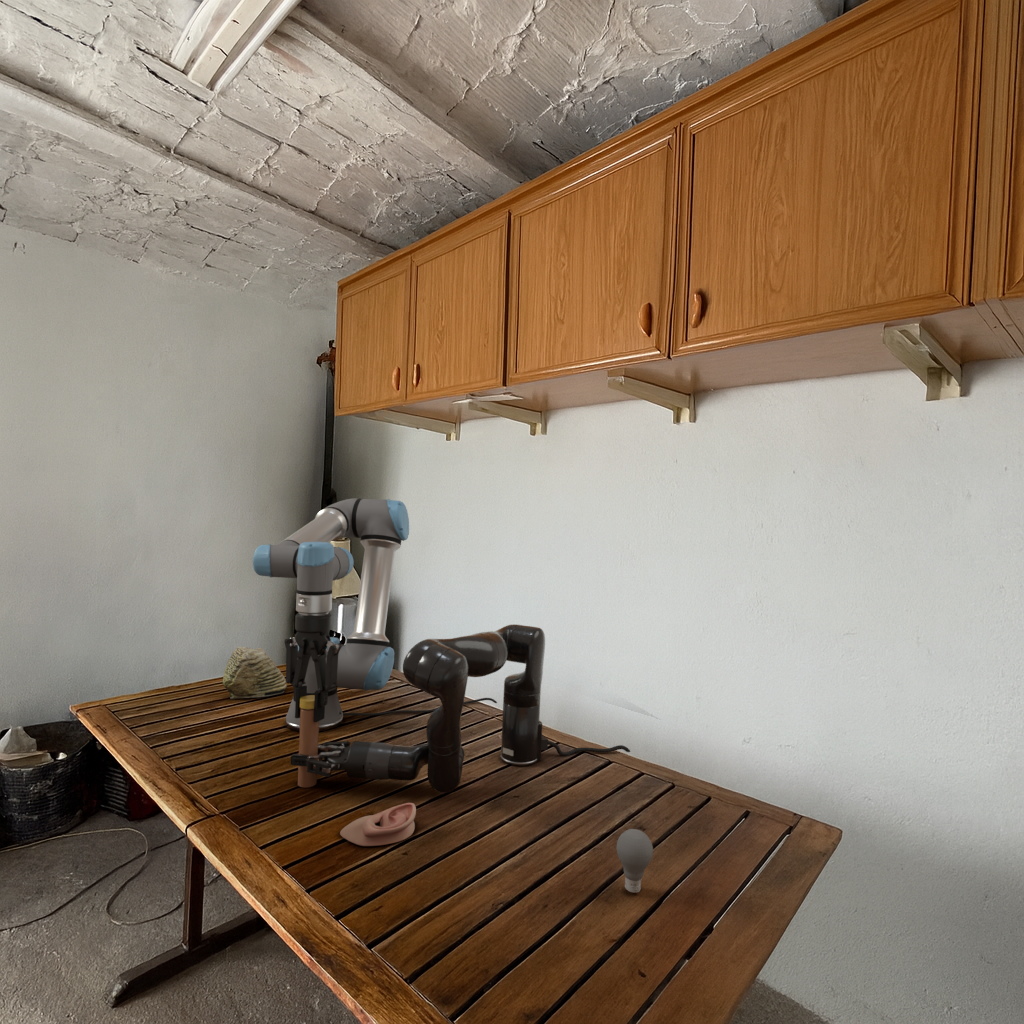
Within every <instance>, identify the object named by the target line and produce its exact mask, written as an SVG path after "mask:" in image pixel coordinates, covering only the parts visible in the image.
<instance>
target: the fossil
mask: <svg viewBox="0 0 1024 1024" xmlns="http://www.w3.org/2000/svg"><path fill="white" fill-rule="evenodd" d="M222 676H223V677H222V685H223V687H224V688H225V690H226V691H228V693H229V698H230V699H250V698H264V697H271V696H275V695H281V694H284V693H285V691H286V689H287V687H288V686H287V685H288V684H287V683H286V676H284V674H283V673H282V672H281V669H279V668H278V667H277V665H276V663H275V662H274V660H273V659H272V658H271V657H270V656H269V655H268V654H267V653H266V652H265V650H264V649H263V648H260V647H258V648H251V647H247V646H246V647H245V646H238V647H237V648H236V649H235V650H233V651H232V653H231V656H230V657H229V659H228V660H227V663H226V666H225V668H224V671H223V675H222Z"/></svg>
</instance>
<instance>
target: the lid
mask: <svg viewBox="0 0 1024 1024" xmlns="http://www.w3.org/2000/svg"><path fill="white" fill-rule="evenodd" d="M314 699H315V695H307V696H303V697H301V698H300V708H303V709H314Z"/></svg>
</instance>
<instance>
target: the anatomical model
mask: <svg viewBox="0 0 1024 1024" xmlns="http://www.w3.org/2000/svg"><path fill="white" fill-rule="evenodd" d="M416 806H417V805H415V803H413V802H406V803H402V804H398V805H395V806H392V807H390V808H387V809H385V810H382V811H380V812H378V813H375V814H373V815H372V814H371V815H364V816H362V817H359V818H357V819H355V820H353V821H351V822H349V823H348V824H347V825H345V826H344V827H343V828H342V829H341V830H340V832H339V835H340V837H342V838H343V839H345V840H346V841H348V842H349V843H352V844H355V845H357V846H359V847H376V846H384V845H385V846H386V845H389V844H395V843H398V842H401V841H403V840H406V839H408V838H410V837H411V836H412V835H413V833H414V832H415V828H416V823H415V821H414V820H415V819H416V815H417V807H416Z"/></svg>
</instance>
